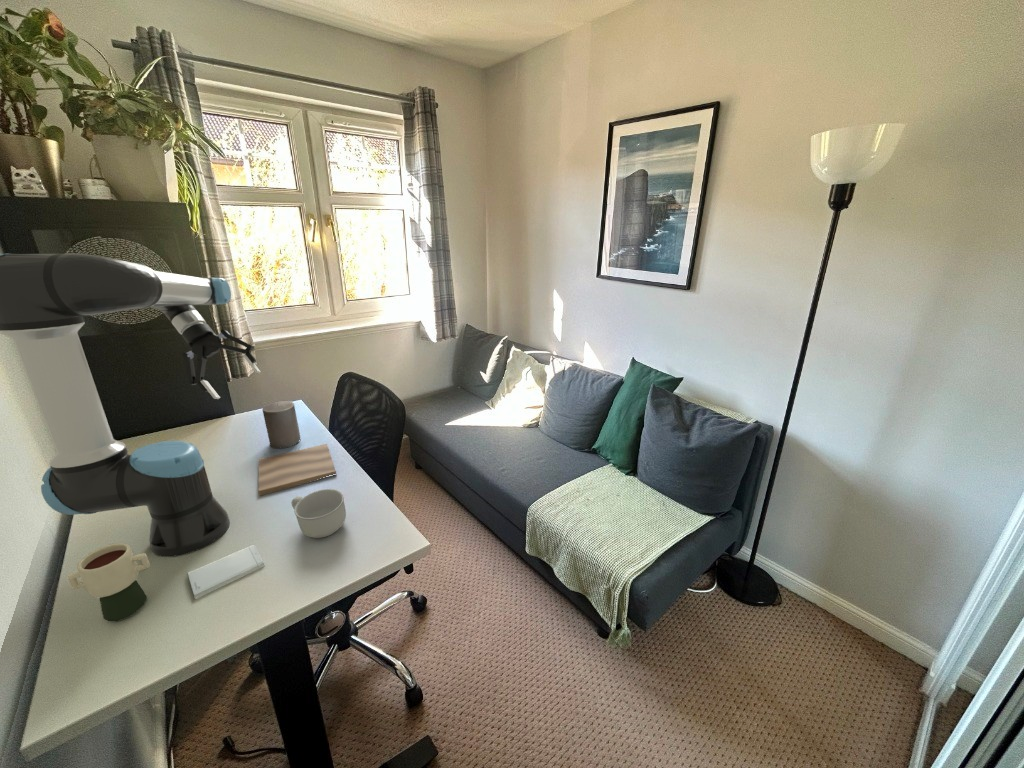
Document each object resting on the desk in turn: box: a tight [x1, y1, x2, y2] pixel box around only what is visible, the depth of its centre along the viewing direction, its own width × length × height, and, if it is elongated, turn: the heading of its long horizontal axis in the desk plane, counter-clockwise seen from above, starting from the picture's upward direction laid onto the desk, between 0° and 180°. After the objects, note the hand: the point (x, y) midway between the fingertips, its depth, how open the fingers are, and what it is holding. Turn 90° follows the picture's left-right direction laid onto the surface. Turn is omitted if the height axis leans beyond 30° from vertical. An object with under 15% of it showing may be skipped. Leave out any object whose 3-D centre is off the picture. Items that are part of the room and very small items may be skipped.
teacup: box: [290, 488, 347, 539], centre depth 99 cm, size 14×11×8 cm
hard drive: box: [187, 544, 266, 600], centre depth 88 cm, size 2×8×12 cm
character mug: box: [67, 542, 151, 623], centre depth 76 cm, size 11×7×13 cm, turn 120°
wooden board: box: [258, 443, 337, 496], centre depth 126 cm, size 20×20×2 cm
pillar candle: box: [262, 400, 301, 450], centre depth 141 cm, size 10×10×15 cm
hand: (238, 385), depth 126 cm, fingers open, 13 cm apart
